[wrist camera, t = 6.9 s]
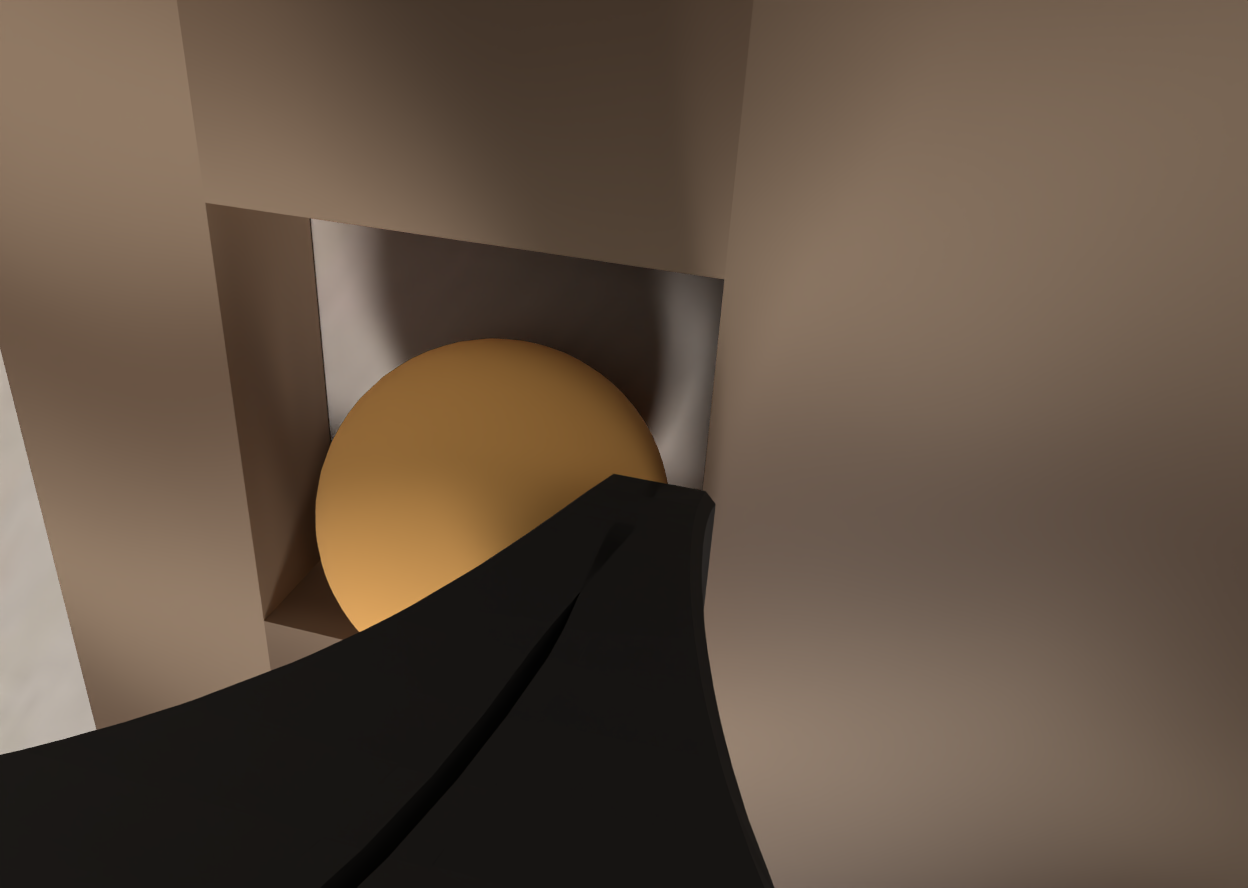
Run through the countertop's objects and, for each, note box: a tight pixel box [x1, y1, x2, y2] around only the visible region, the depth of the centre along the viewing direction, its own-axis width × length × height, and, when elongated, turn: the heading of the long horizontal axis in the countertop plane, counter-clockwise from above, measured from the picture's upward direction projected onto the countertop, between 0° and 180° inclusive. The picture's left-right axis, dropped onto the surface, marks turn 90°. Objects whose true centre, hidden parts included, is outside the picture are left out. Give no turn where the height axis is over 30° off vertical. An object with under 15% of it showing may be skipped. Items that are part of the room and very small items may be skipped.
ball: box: [316, 338, 668, 632], centre depth 12 cm, size 4×4×4 cm
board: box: [0, 0, 1248, 888], centre depth 12 cm, size 14×26×2 cm, turn 87°
